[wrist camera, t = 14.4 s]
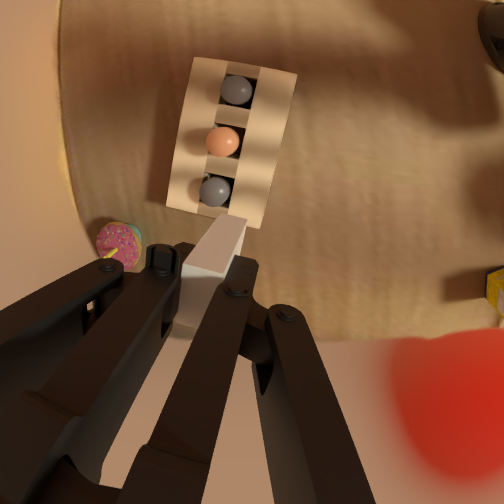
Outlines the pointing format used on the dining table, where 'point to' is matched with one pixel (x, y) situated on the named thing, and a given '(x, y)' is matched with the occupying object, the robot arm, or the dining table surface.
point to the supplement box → (495, 289)
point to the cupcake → (120, 243)
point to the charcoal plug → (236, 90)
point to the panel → (217, 113)
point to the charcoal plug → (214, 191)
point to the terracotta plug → (222, 141)
